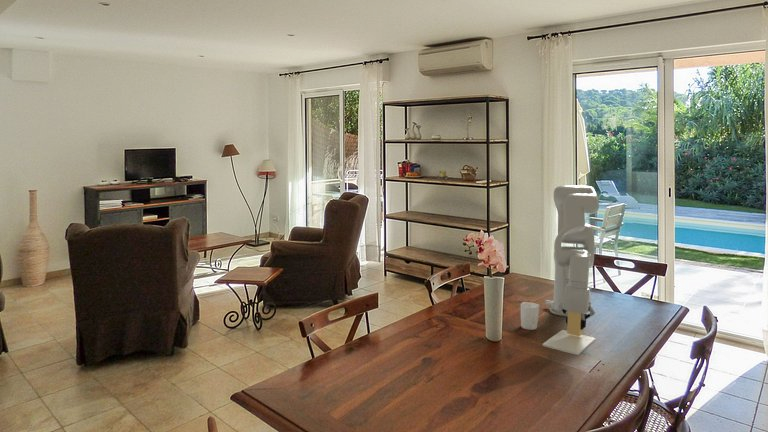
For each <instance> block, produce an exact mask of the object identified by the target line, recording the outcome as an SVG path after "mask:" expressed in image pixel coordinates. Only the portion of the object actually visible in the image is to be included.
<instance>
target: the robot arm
mask: <svg viewBox="0 0 768 432" xmlns="http://www.w3.org/2000/svg"><path fill="white" fill-rule="evenodd" d="M553 201H554V205H555V208H556V211H557V235H556V236H555V237H556V238H555V240H554V246H553V247H554V249H553V250H554V251H553V260H554V283H553V285H554V287H553V300H550V299H545V305H546V306H550V307H549V312H550V313H551V314H554V315H557V316H561V317H565V324H567V322H568V311H572V312H576V313H581V316H582V320H581V328H580V329H581V330H582V329H584V330H585V328H586V326H587V319H590V317H592V316H595V315H596V312H595V311H596V310H594V308H593V306H592V304H591V303H592V302H591V301H592V299H591V297H592V296H591V290H590V288H589V279H590V277H589V275H590V268H591V267H593V265H594V262H595V230H594V226H592V225H591V224H589V223H586V219H585V218H586V216H585V215H586V214H596V213H597V212H598V211H599V208H600V199H599V196H598V194H597V192H596V190H595V188H594V187H593V186H589V185H558V186H556V187H555V188H554V190H553ZM562 243H563V244H567V245H568V244H572V245H581V246H567V245H564V246H562Z"/></svg>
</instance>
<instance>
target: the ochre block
mask: <svg viewBox="0 0 768 432" xmlns="http://www.w3.org/2000/svg"><path fill="white" fill-rule="evenodd" d="M581 320H582V316H581V313H576V312H572V311H568V322H567V323H566V331H567V334H571V335H575V336H580V335H584V331H585V328H584V329H582V330H581V329H580V328H581Z"/></svg>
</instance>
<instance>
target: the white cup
mask: <svg viewBox="0 0 768 432" xmlns="http://www.w3.org/2000/svg"><path fill="white" fill-rule="evenodd" d="M539 315H540V304H538V303H535V302H528V301H526V302H525V301H524V302H521V303H520V327H521V328H522V329H525V330H528V331H529V330H530V331H531V330H536V329H537V328H538V323H539Z"/></svg>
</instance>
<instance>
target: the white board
mask: <svg viewBox="0 0 768 432" xmlns="http://www.w3.org/2000/svg"><path fill="white" fill-rule="evenodd" d="M596 340H597V339H596V337H593V336H588V335H584V334H582V335H580V336H575V335H571V334H567V330H564V329H561V330H560V331H558V332H557V333H555V334H554V335H552V336H551V337H550V338H548V339H547V340H546V341H545V342H543V343H542V347H545V348H549V349H553V350H557V351H559V352H564V353H568V354H571V355H575V356H579V355H580V354H581V353H582V352H584V351H585V350H586V349H587V348H588V347H589V346H590V345H592V344H593V343H594V342H595V341H596Z"/></svg>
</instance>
